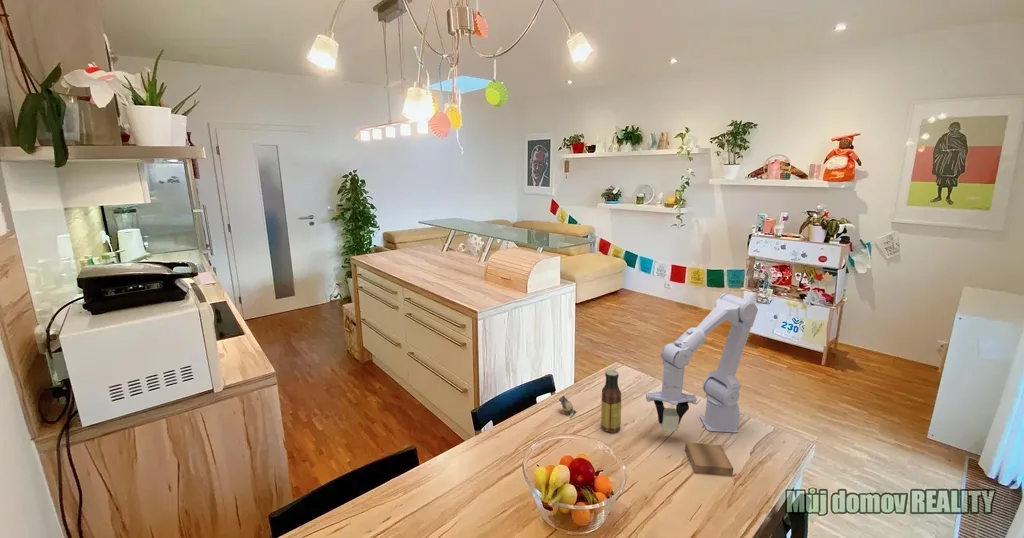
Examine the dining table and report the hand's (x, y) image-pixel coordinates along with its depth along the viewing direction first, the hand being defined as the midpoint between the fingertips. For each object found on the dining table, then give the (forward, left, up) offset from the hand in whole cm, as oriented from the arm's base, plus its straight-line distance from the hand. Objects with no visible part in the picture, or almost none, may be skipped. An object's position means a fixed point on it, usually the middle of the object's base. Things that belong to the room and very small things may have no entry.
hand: (668, 422), depth 133 cm
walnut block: (-9, +10, -6) cm, 15 cm away
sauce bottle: (+17, -4, -6) cm, 19 cm away
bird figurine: (+31, -11, -6) cm, 33 cm away
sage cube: (0, 0, -1) cm, 1 cm away
